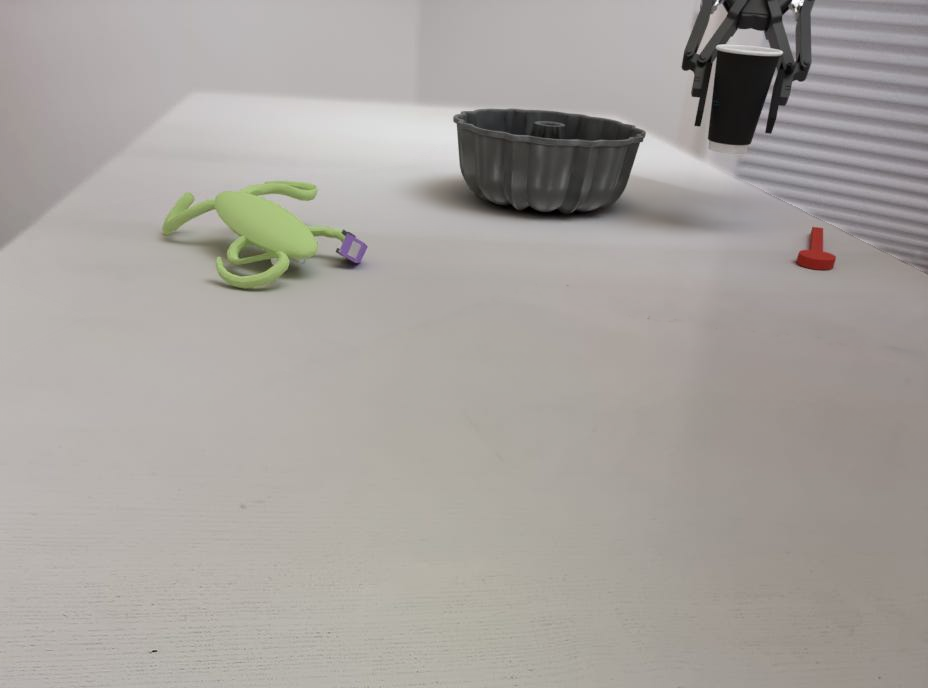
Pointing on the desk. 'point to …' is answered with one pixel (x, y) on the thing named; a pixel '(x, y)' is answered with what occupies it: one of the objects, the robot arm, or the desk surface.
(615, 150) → the bundt pan
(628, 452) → the desk surface
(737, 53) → the dixie cup
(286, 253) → the figurine
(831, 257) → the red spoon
